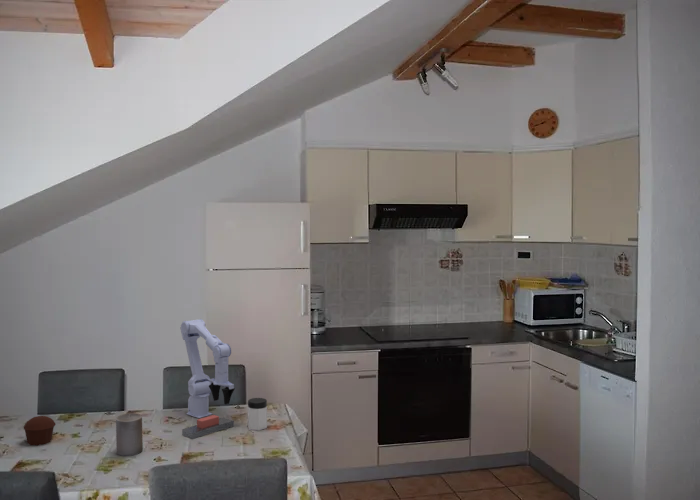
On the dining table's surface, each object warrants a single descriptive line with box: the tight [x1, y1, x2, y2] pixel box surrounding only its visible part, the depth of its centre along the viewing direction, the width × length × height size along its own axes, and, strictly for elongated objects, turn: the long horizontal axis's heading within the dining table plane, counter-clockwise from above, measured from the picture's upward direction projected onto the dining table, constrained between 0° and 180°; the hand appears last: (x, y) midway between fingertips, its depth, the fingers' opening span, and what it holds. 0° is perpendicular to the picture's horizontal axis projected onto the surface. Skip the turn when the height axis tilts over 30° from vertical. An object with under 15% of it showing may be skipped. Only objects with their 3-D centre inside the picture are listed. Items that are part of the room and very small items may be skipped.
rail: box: [181, 416, 235, 440], centre depth 279 cm, size 7×22×2 cm, turn 140°
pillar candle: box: [115, 412, 144, 457], centre depth 253 cm, size 10×10×15 cm
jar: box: [247, 397, 268, 431], centre depth 284 cm, size 9×8×12 cm
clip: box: [196, 414, 220, 428], centre depth 278 cm, size 4×9×5 cm, turn 141°
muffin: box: [23, 415, 56, 446], centre depth 262 cm, size 12×11×10 cm
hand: (221, 402), depth 287 cm, fingers open, 7 cm apart
